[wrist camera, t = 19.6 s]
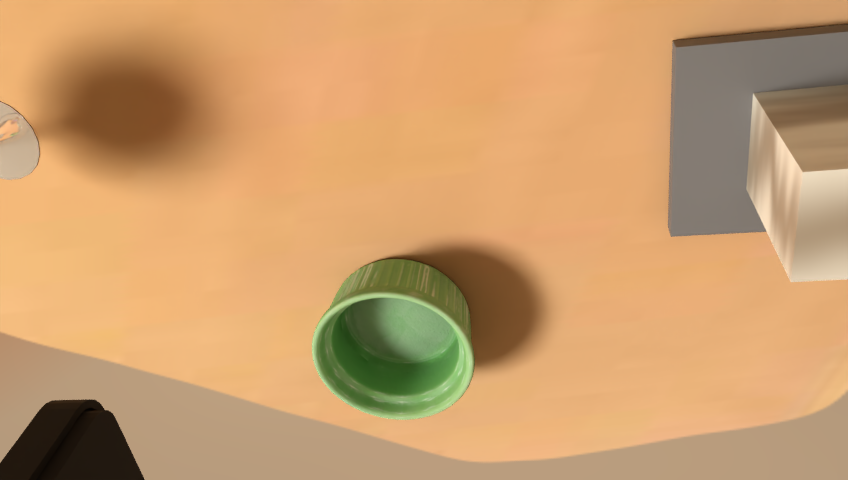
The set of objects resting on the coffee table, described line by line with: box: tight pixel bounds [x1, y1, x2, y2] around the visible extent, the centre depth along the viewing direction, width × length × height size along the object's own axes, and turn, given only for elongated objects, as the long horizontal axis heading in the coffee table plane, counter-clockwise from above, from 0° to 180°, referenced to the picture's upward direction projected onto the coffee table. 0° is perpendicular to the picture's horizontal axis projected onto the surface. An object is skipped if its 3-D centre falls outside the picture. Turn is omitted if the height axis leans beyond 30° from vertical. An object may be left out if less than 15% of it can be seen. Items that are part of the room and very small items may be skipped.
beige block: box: [746, 85, 848, 282], centre depth 34 cm, size 5×5×8 cm
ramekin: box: [312, 259, 475, 420], centre depth 45 cm, size 9×9×4 cm
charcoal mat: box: [668, 24, 848, 237], centre depth 38 cm, size 10×12×1 cm
